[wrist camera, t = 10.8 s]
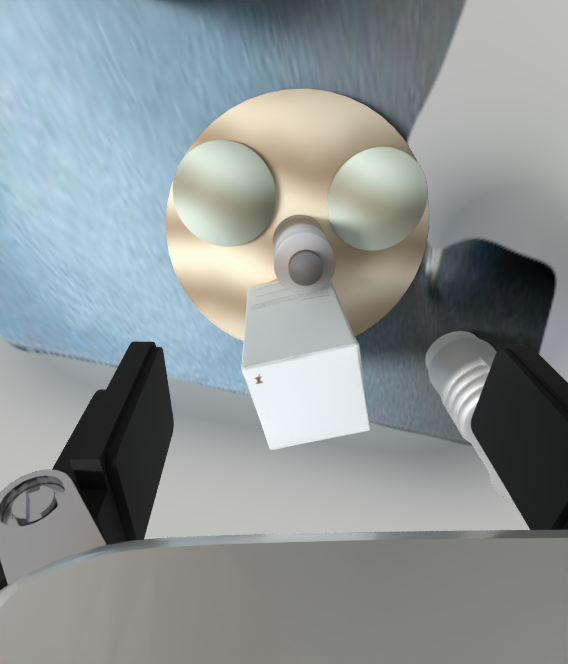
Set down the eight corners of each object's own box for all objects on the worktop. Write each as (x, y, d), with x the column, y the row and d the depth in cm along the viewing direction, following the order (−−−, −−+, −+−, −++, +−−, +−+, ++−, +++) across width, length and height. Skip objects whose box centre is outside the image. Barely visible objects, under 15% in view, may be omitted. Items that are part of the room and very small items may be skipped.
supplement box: (265, 354, 39) (266, 453, 28) (246, 285, 35) (237, 367, 24) (341, 339, 38) (372, 434, 27) (329, 267, 35) (359, 343, 24)
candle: (496, 327, 40) (607, 433, 27) (475, 383, 44) (565, 501, 31) (429, 324, 40) (510, 432, 27) (414, 381, 43) (478, 501, 30)
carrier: (154, 81, 29) (118, 74, 22) (452, 96, 30) (508, 94, 23) (180, 343, 40) (162, 394, 33) (398, 346, 41) (426, 396, 34)
